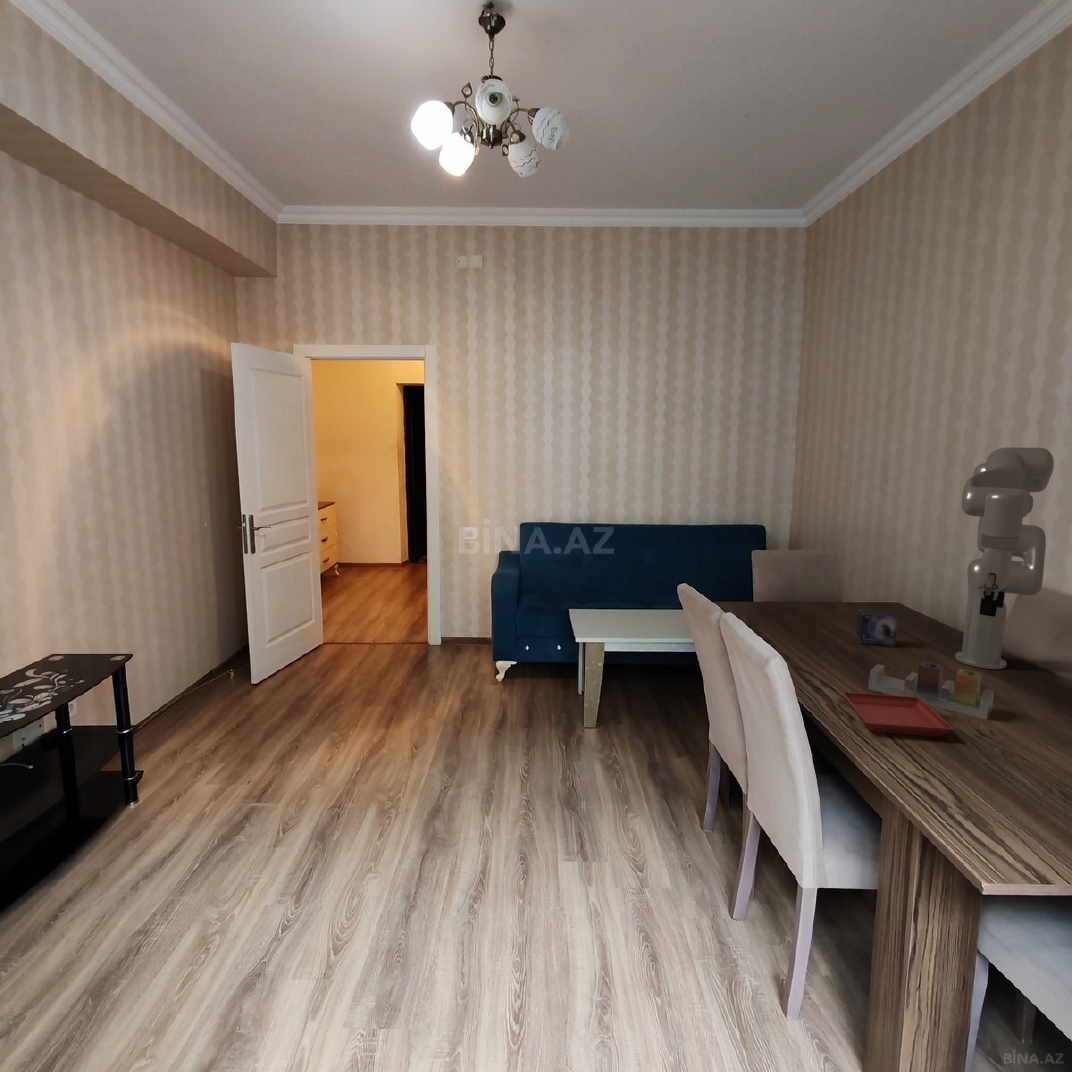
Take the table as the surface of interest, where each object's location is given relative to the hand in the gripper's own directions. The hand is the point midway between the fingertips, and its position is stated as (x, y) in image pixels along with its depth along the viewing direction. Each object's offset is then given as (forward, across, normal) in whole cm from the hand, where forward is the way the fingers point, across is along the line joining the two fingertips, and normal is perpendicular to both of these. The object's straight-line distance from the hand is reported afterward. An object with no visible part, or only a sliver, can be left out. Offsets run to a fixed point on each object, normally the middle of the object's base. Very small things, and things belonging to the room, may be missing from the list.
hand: (991, 610), depth 152 cm
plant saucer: (+24, +26, -13) cm, 38 cm away
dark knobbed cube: (+22, +6, -10) cm, 25 cm away
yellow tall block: (+22, +6, -2) cm, 23 cm away
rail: (+24, +6, -10) cm, 27 cm away
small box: (+26, -32, -34) cm, 53 cm away
